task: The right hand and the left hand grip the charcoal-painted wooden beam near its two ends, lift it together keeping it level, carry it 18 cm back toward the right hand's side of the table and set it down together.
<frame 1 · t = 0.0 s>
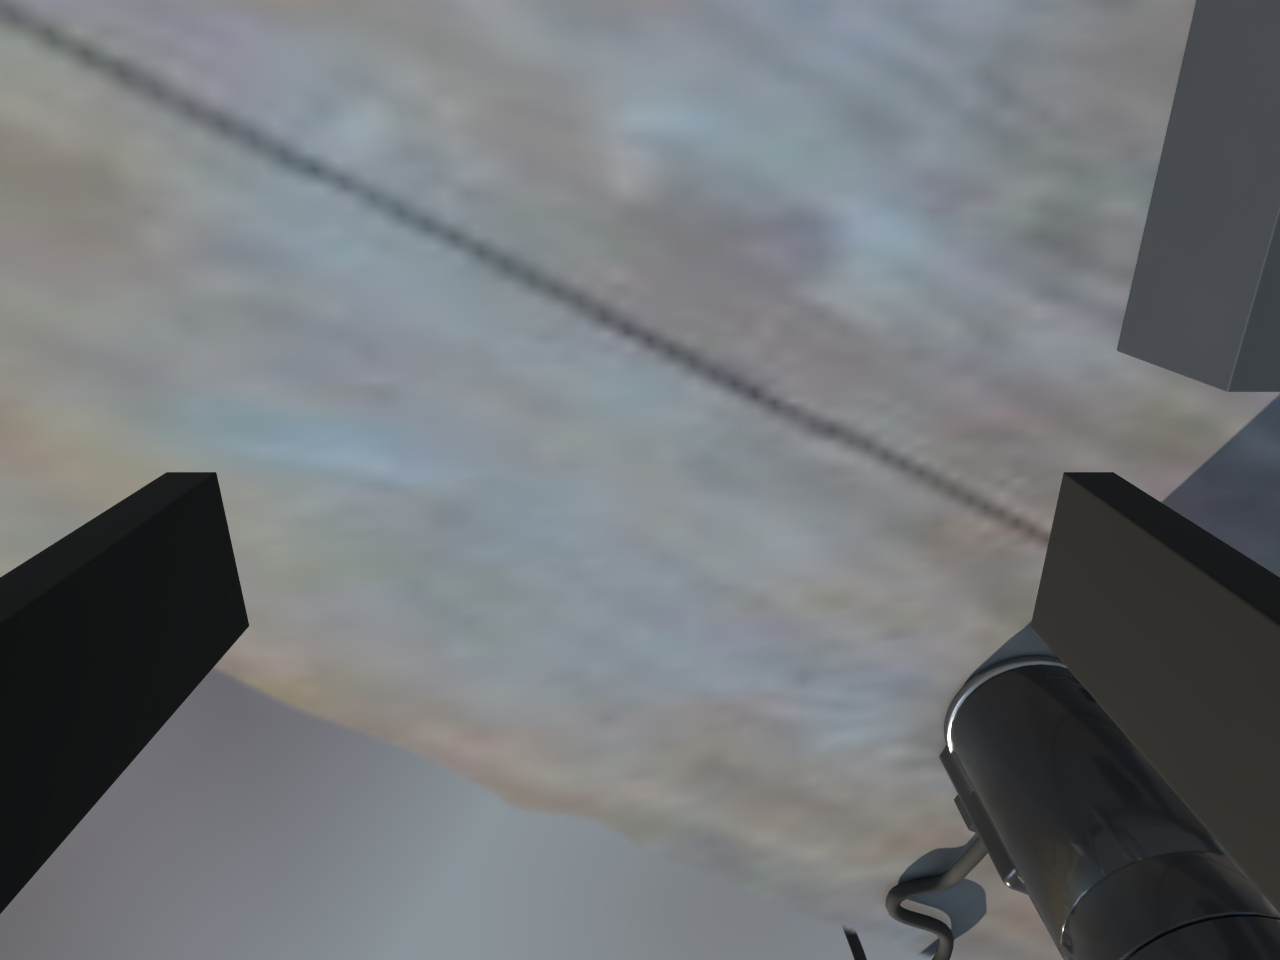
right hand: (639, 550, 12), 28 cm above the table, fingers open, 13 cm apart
beam: (1244, 36, 34), on the table
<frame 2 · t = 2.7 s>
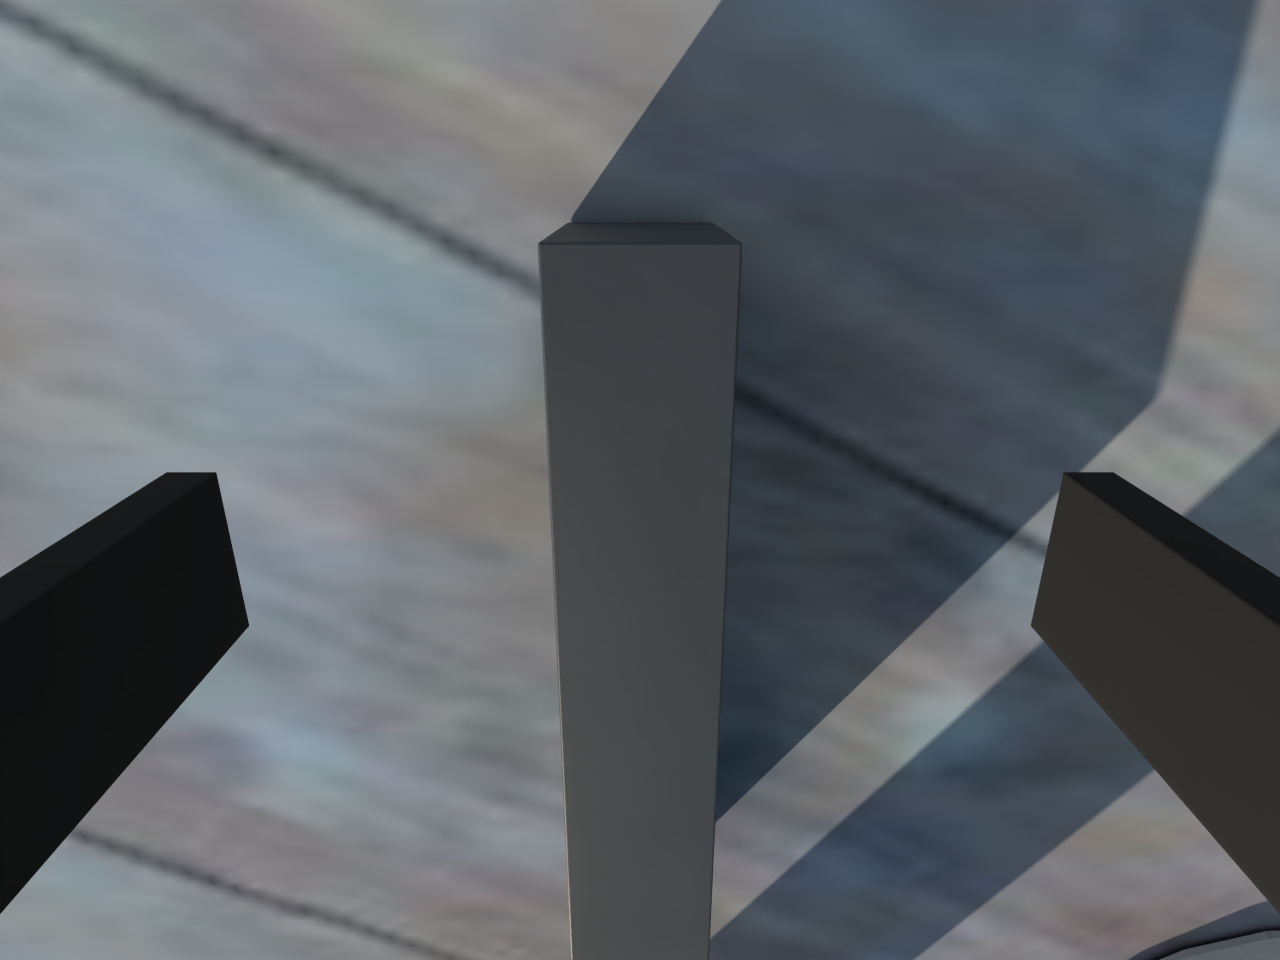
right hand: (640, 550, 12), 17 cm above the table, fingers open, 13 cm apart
beam: (640, 585, 32), on the table
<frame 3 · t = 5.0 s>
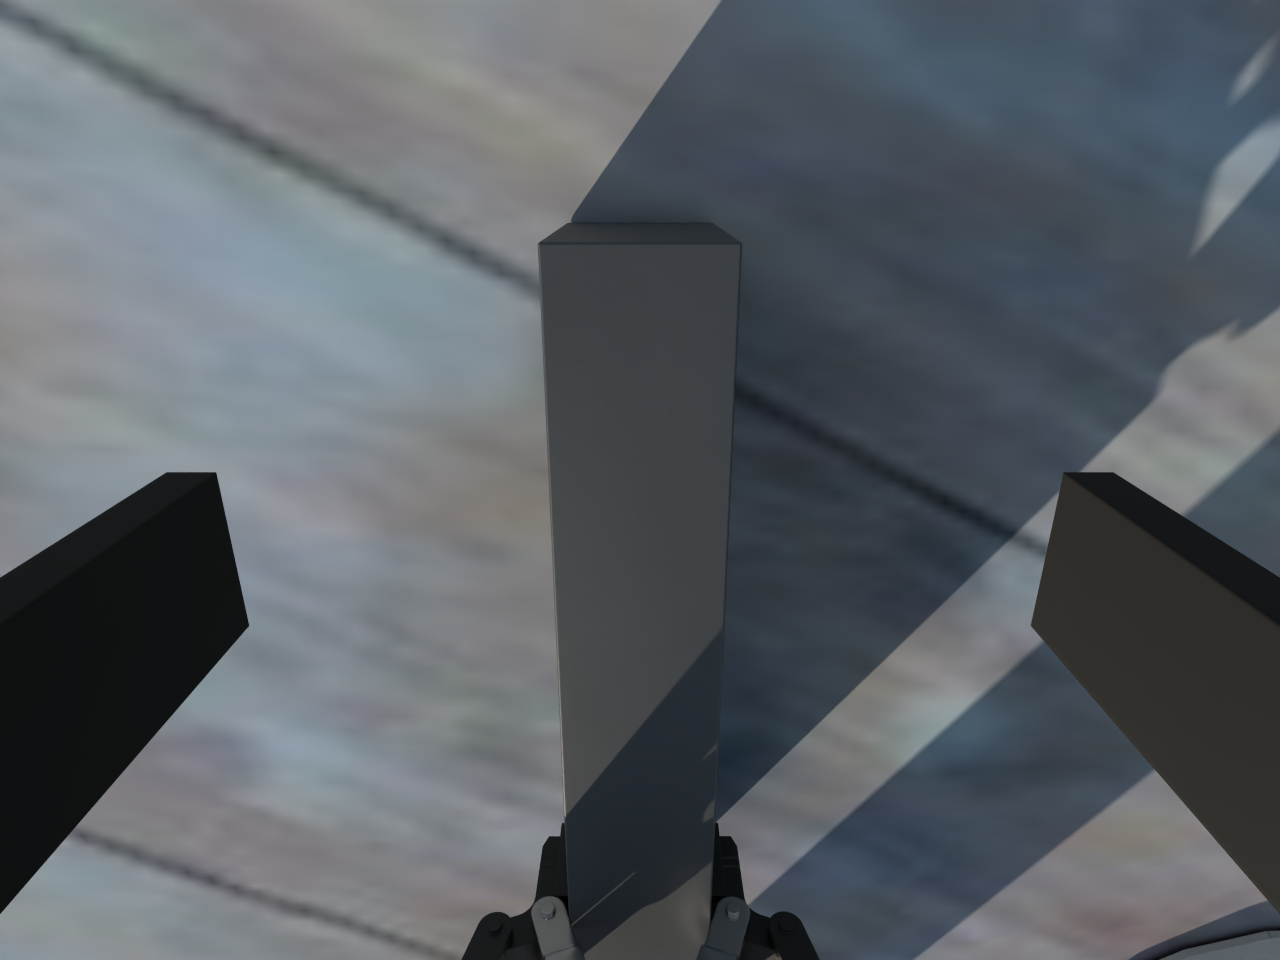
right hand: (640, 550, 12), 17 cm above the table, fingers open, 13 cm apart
beam: (639, 585, 32), on the table, touching left hand
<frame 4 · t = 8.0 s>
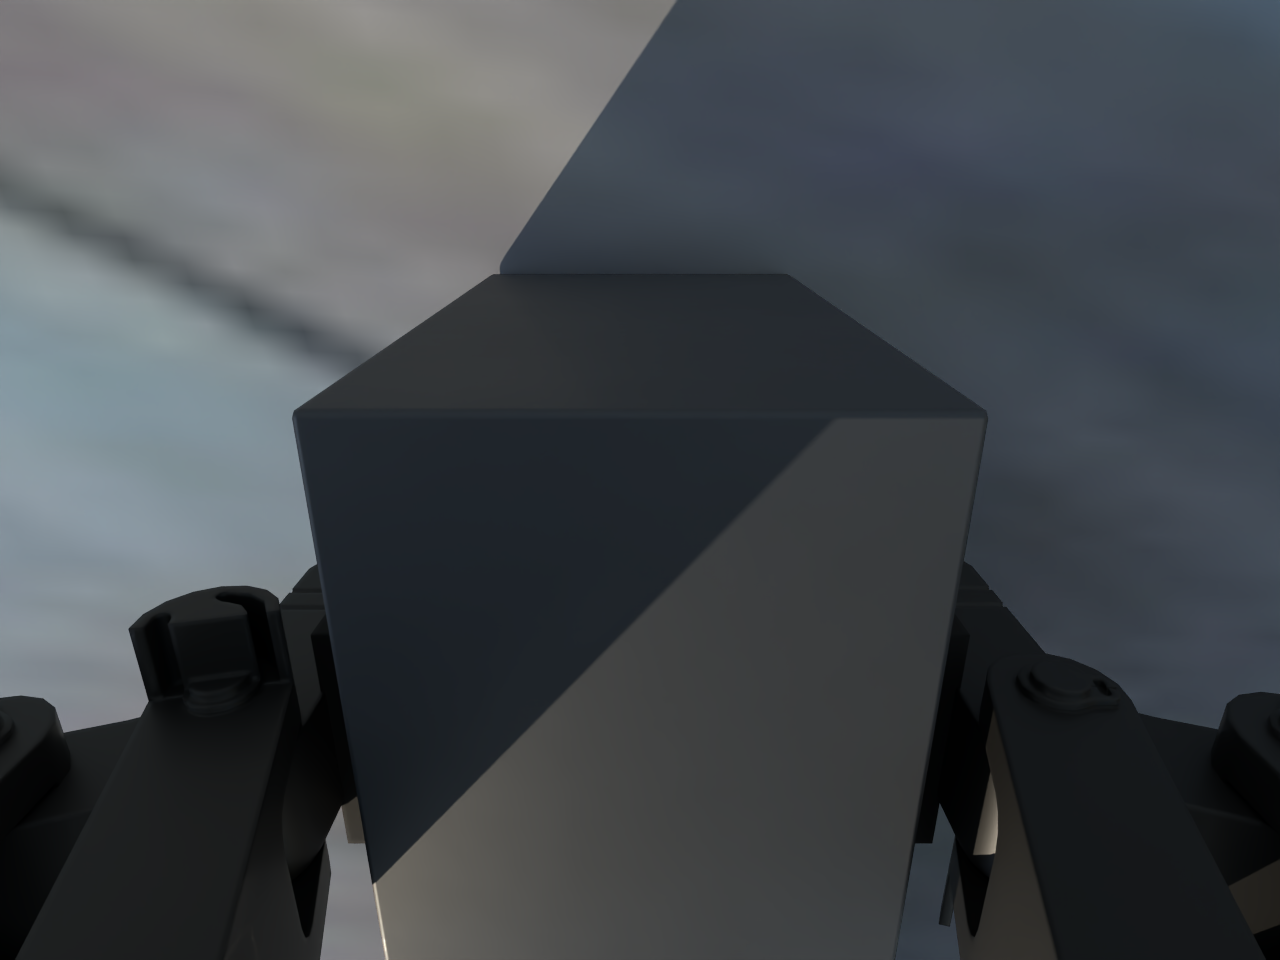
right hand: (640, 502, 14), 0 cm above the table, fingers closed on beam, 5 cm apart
beam: (640, 891, 18), on the table, touching right hand, left hand
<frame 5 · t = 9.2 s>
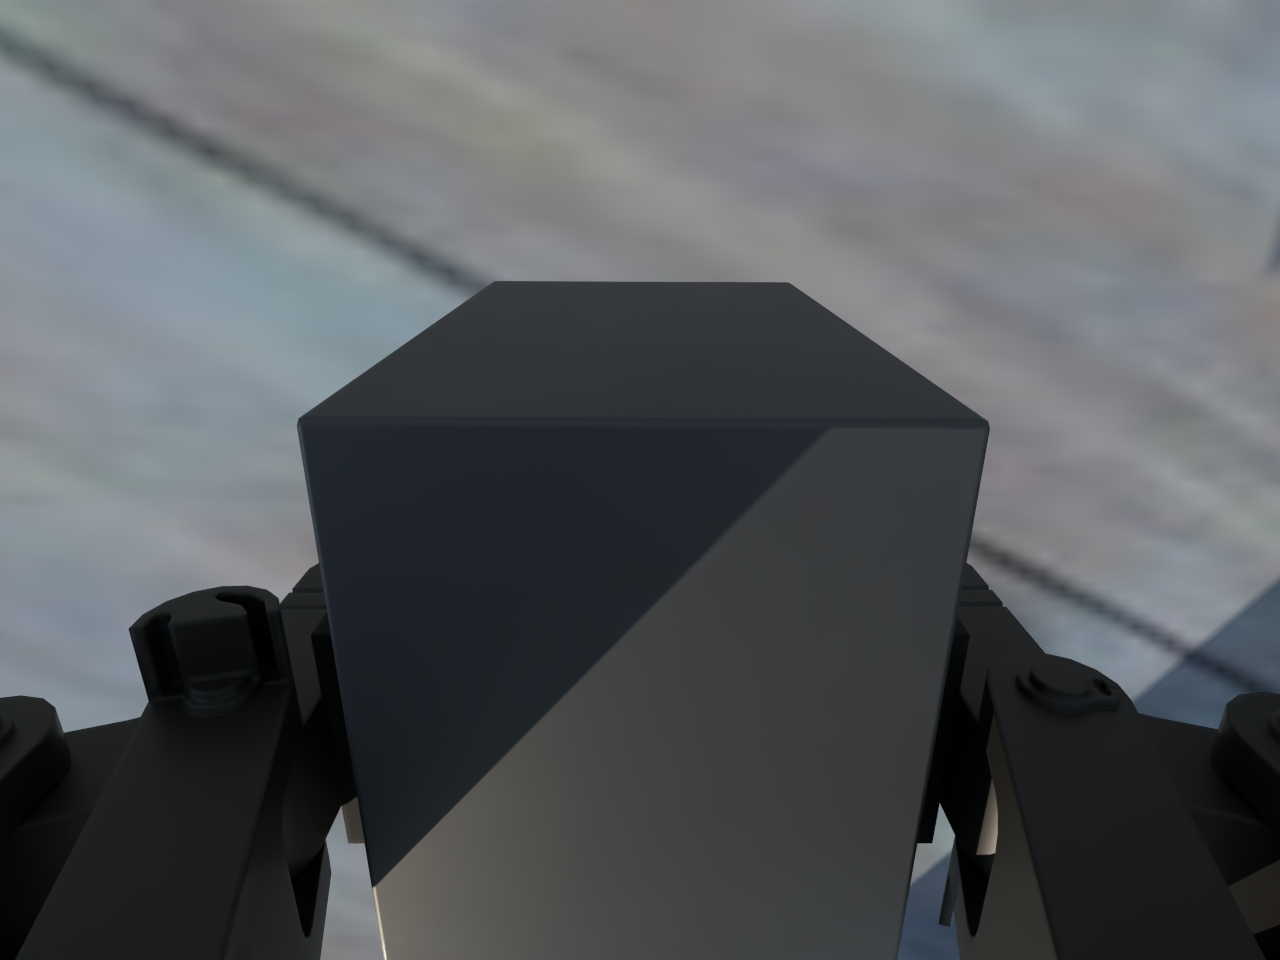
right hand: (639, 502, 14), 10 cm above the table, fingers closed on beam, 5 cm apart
beam: (638, 898, 18), point 10 cm above the table, touching right hand, left hand
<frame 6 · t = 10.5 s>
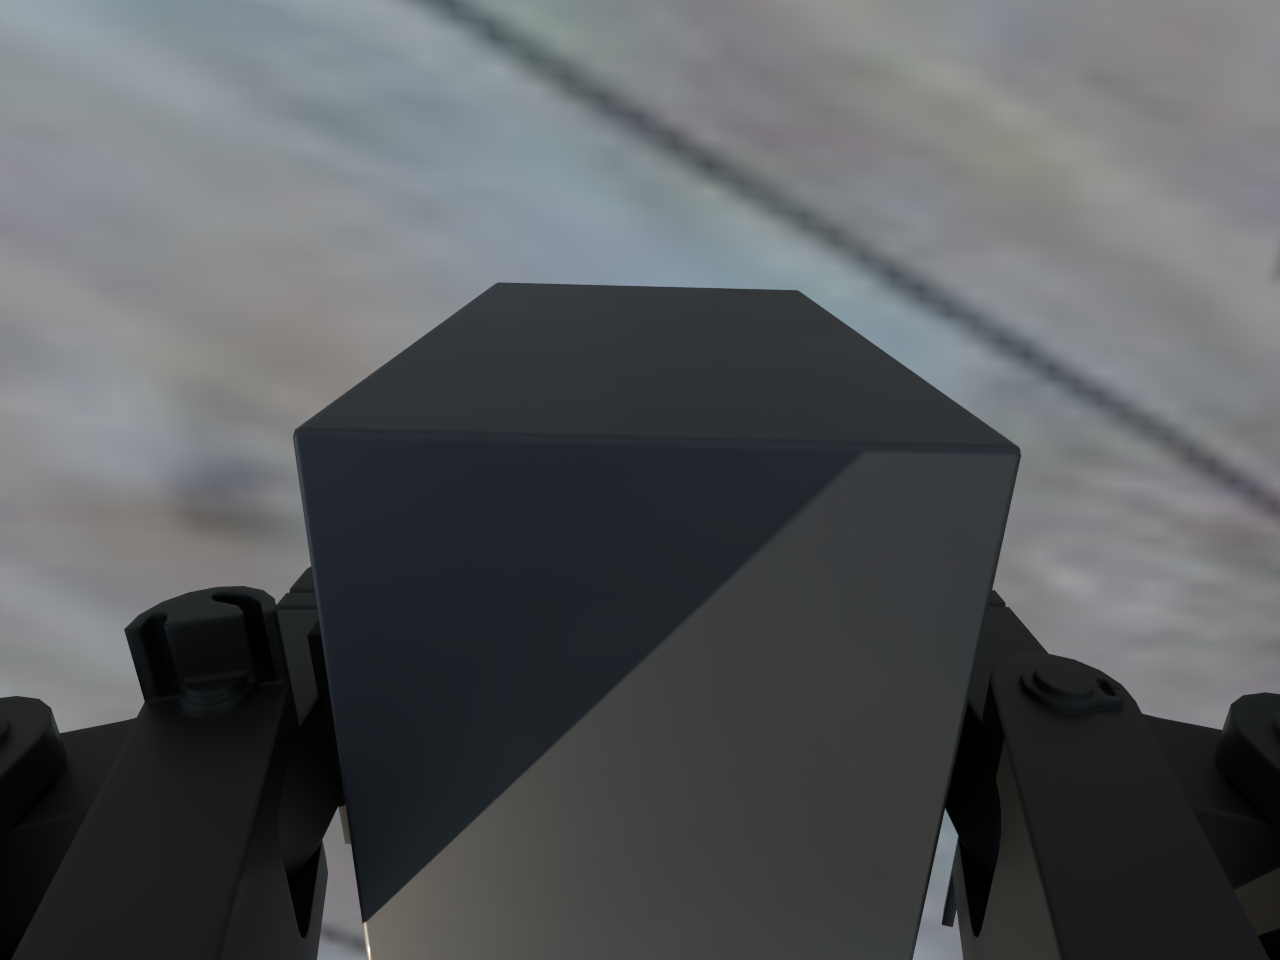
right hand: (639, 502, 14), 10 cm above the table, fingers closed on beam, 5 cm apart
beam: (630, 911, 18), point 10 cm above the table, touching right hand, left hand
when the right hand's fingers open (1 cm above the table, at t = 13.0 s): beam moves 1 cm, on the table.
when the left hand's fingers open (4 cm above the table, at t = 13.2 s): beam stays where it is, on the table.
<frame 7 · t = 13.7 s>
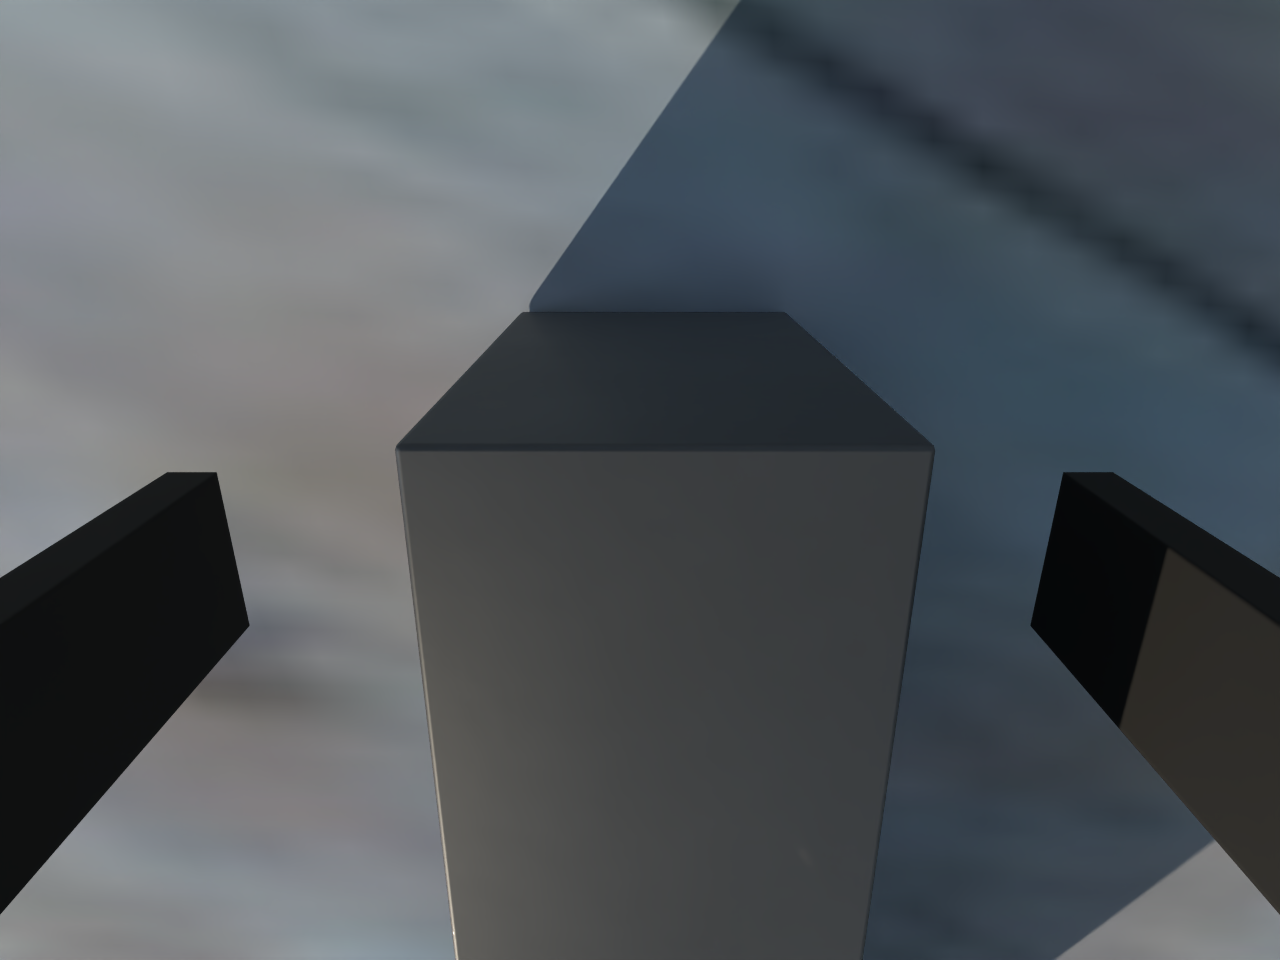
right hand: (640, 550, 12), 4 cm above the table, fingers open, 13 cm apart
beam: (650, 873, 20), on the table
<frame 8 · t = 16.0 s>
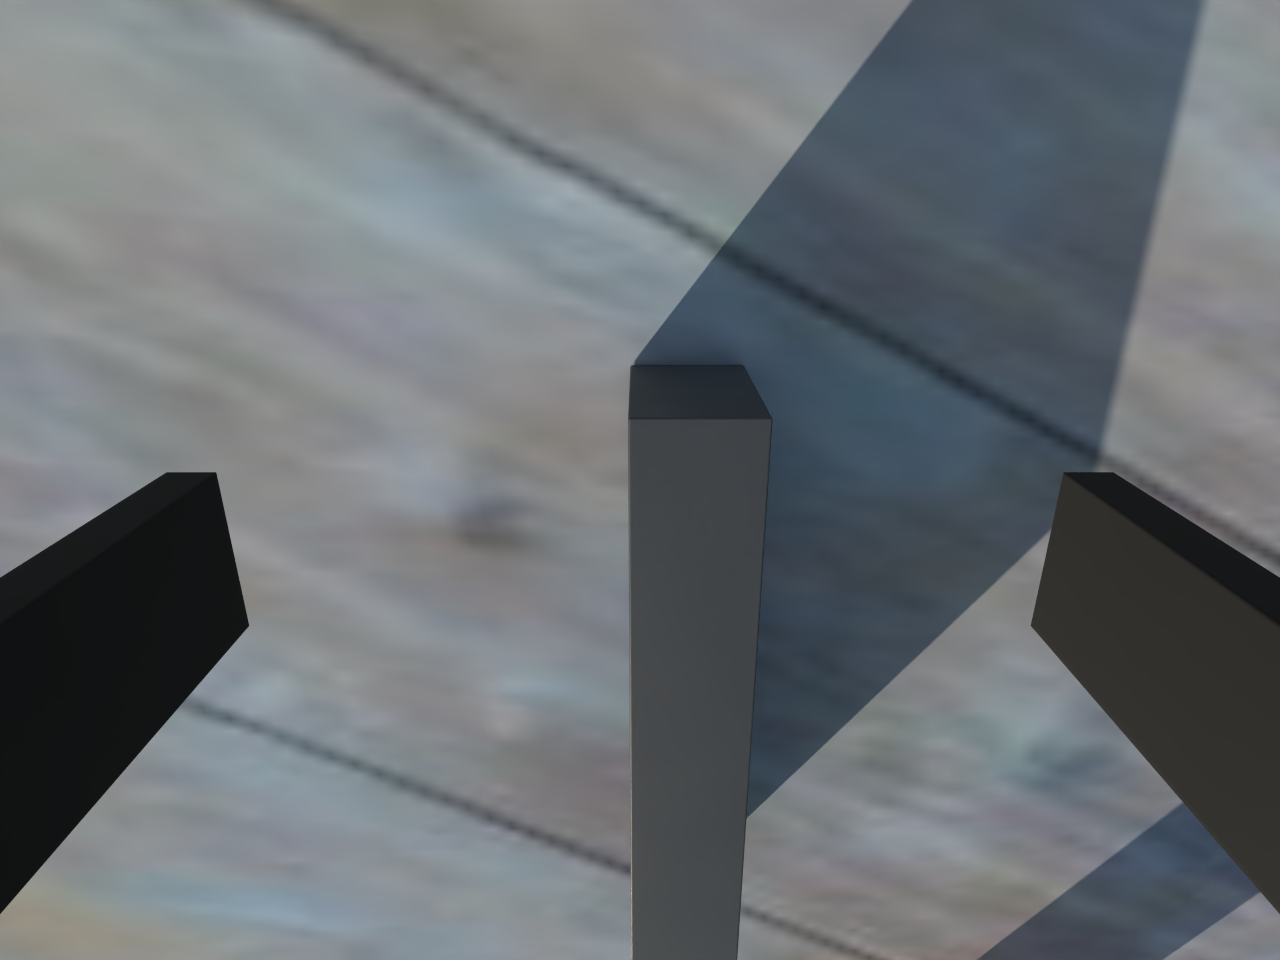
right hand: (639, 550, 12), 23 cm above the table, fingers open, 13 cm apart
beam: (681, 636, 39), on the table
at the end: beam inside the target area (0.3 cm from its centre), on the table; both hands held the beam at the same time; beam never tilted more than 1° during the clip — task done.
